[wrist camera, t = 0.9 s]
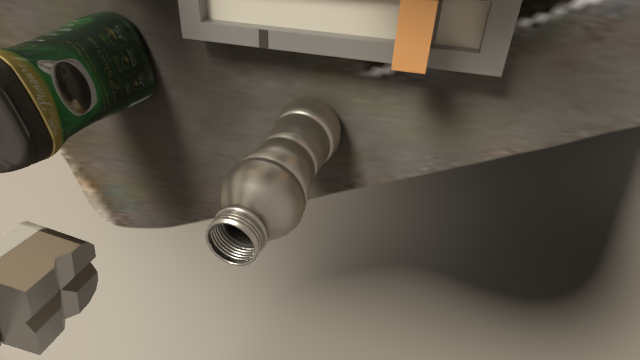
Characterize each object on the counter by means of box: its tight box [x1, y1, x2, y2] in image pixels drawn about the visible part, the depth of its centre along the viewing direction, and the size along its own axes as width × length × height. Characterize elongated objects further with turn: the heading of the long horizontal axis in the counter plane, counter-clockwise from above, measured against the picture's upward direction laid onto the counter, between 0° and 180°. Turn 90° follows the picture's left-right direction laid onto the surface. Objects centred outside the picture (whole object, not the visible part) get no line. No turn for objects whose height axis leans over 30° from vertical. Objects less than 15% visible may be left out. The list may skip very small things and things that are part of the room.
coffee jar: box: [0, 12, 155, 173], centre depth 39 cm, size 10×8×19 cm
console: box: [178, 0, 522, 77], centre depth 36 cm, size 28×7×4 cm, turn 87°
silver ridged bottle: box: [206, 97, 341, 266], centre depth 36 cm, size 6×7×20 cm
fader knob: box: [391, 0, 443, 74], centre depth 32 cm, size 3×5×7 cm, turn 177°
